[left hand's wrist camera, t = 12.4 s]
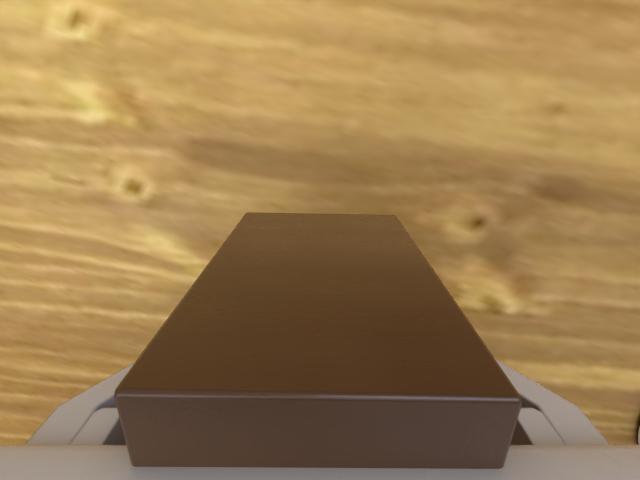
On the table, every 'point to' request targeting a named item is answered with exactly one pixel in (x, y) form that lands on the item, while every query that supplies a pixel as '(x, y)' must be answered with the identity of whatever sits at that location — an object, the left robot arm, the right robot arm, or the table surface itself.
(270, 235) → the bar
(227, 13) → the table surface
